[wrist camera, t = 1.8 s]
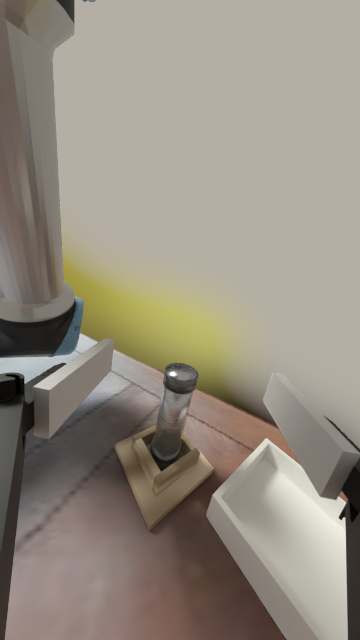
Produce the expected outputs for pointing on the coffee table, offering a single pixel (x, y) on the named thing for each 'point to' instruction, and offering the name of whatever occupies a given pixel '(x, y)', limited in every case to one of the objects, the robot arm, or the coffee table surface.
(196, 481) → the socket block
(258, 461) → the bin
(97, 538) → the coffee table surface
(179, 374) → the capped clear cylinder
